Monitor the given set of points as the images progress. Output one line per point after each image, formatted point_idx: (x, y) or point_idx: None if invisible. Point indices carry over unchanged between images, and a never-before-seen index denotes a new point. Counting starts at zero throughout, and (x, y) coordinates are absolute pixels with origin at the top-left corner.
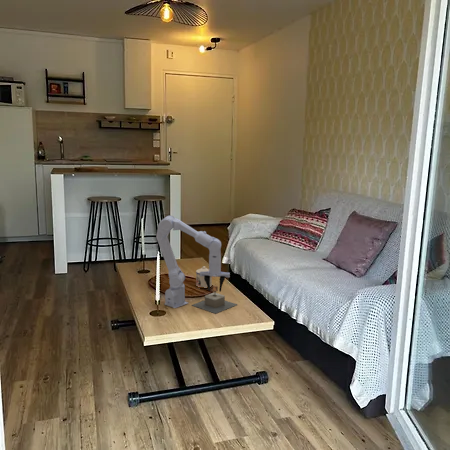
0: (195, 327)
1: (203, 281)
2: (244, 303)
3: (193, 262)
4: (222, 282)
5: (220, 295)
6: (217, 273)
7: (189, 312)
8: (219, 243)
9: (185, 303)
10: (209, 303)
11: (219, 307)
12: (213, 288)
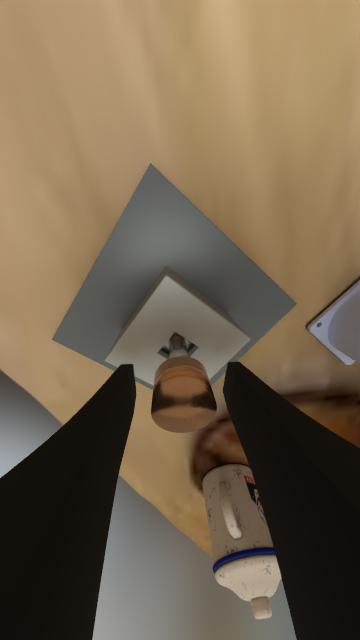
0: None
1: (240, 501)
2: (26, 362)
3: None
4: (7, 482)
5: (136, 359)
6: None
7: (324, 185)
8: None
9: (327, 315)
10: (205, 298)
11: (141, 281)
12: (195, 380)
